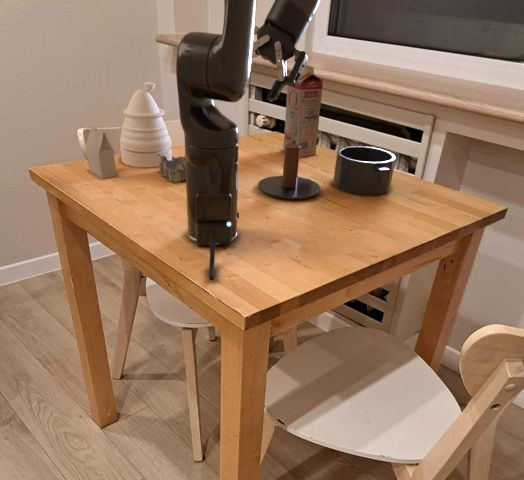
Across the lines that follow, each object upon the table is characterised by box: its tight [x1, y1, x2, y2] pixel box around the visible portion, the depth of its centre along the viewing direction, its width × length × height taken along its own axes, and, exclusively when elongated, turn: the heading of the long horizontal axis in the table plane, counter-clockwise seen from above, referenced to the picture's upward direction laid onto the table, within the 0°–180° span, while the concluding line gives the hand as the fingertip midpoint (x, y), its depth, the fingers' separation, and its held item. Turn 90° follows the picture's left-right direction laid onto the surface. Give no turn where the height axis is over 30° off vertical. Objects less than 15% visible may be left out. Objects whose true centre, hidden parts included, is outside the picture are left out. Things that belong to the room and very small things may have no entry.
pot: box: [332, 145, 397, 196], centre depth 126 cm, size 14×19×8 cm
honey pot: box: [119, 81, 173, 168], centre depth 131 cm, size 13×13×18 cm
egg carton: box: [158, 154, 186, 183], centre depth 126 cm, size 11×8×4 cm
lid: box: [257, 144, 322, 200], centre depth 120 cm, size 15×15×10 cm
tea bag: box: [85, 125, 117, 179], centre depth 123 cm, size 4×7×10 cm, turn 40°
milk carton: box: [282, 64, 324, 158], centre depth 142 cm, size 7×7×22 cm
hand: (251, 89), depth 104 cm, fingers open, 8 cm apart
